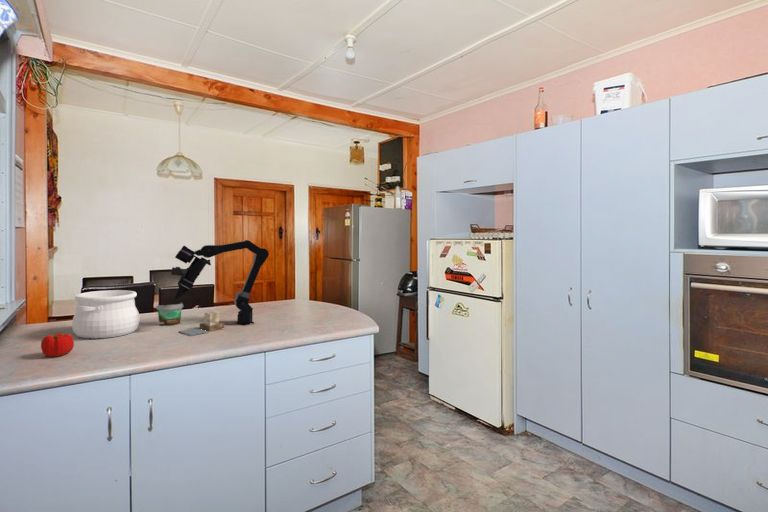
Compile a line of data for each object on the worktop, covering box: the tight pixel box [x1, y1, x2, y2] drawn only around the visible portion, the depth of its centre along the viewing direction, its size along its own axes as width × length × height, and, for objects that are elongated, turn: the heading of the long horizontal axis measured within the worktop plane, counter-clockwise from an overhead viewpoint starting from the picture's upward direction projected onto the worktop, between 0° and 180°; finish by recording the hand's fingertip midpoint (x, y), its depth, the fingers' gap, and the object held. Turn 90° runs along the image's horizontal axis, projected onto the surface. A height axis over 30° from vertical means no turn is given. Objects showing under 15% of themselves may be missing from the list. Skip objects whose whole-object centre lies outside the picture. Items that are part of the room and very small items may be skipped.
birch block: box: [204, 310, 220, 326], centre depth 188 cm, size 4×4×8 cm
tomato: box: [40, 332, 75, 358], centre depth 145 cm, size 9×9×8 cm
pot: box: [71, 289, 141, 340], centre depth 176 cm, size 26×24×18 cm
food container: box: [155, 301, 184, 327], centre depth 195 cm, size 12×6×10 cm, turn 143°
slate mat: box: [178, 327, 209, 337], centre depth 181 cm, size 8×10×1 cm
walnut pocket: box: [198, 321, 225, 332], centre depth 188 cm, size 8×8×2 cm
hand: (175, 297), depth 186 cm, fingers open, 9 cm apart
